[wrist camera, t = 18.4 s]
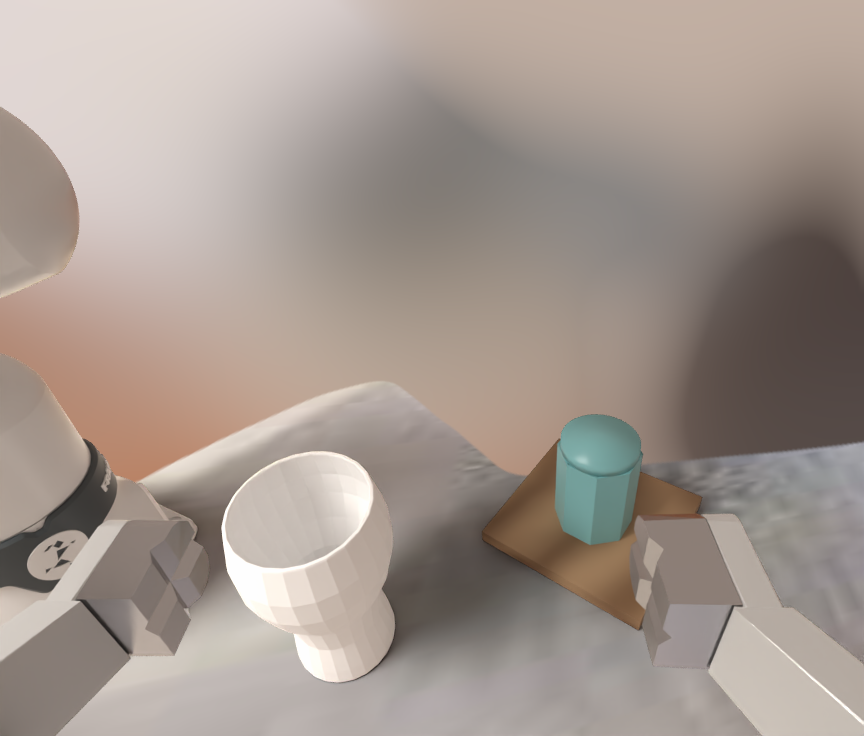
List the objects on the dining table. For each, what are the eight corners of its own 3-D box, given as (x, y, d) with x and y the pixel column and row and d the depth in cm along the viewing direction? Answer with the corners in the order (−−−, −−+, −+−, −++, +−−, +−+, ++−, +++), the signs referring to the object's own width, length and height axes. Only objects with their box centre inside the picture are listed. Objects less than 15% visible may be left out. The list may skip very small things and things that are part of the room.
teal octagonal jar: (544, 521, 47) (546, 447, 41) (576, 478, 50) (582, 405, 45) (610, 555, 43) (621, 479, 38) (639, 507, 47) (653, 431, 42)
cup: (441, 624, 41) (418, 494, 33) (332, 740, 36) (269, 620, 27) (356, 549, 48) (318, 424, 39) (253, 636, 42) (182, 513, 33)
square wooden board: (482, 539, 47) (479, 500, 44) (558, 446, 55) (560, 408, 52) (638, 630, 39) (647, 590, 36) (699, 506, 48) (711, 465, 45)
